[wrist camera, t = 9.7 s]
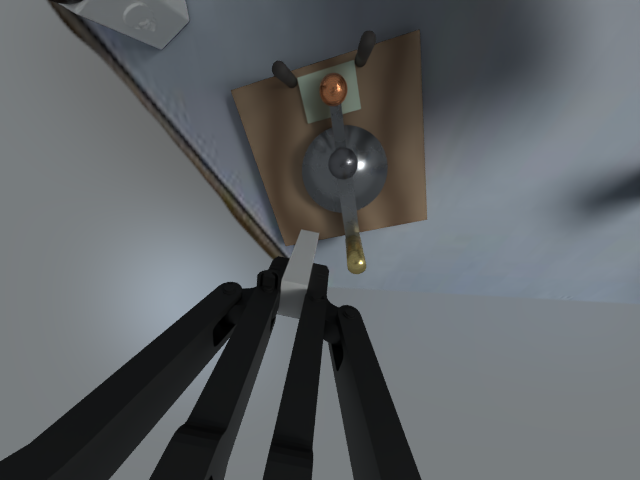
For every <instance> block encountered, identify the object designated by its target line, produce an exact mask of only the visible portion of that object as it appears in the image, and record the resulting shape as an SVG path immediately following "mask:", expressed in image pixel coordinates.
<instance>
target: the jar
mask: <svg viewBox="0 0 640 480" xmlns="http://www.w3.org/2000/svg"><path fill="white" fill-rule="evenodd" d="M50 1H53V2H56V3H58V4H60V5H62V6H63V7H65V8H67V9H68V10H70V11H72V12H73V13H75V14H77V15H79V16H82V17H84V18H87V19H89V20H91V21H94V22H96V23H98V24H101V25H103V26H106V27H108V28H110V29H113V30H115V31H117V32H120V33H122V34H124V35H127V36H129V37H132V38H134V39H136V40H139V41H141V42H143V43H146V44H148V45H151V46H153V47H155V48H158V49H160V50H161V49H163V48H164V47H165V46H166V45H167V44H168V43H169V42H170V41H171V40H172V39H173V38H174V37H175V36H176V35H177V34H178V33H179V32H180V31H181V29H182V28H183V27H184V26H185V25H186V24H187V23H188V22H189V15H188V10H187V5H186V0H50Z"/></svg>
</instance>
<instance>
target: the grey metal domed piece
mask: <svg viewBox="0 0 640 480" xmlns="http://www.w3.org/2000/svg"><path fill="white" fill-rule="evenodd" d="M347 91H348V87H347V83H346V80H345V79H344V77H343V76H342V75H340V74H338V73H330V74H327V75H326V76H325V77H324V78H323V79H322V81H321V83H320V87H319V93H320V97H321V99H322V101H323V102H324V103H325V104H326V105H328V106H329V107H330V114H331V121H332V128H330V129H327V130H325V131H324V132H322V133H321V134H320V135H318V136H317V137H316V138H315V139H314V140H313V141H312V143H311V144H310V145H309V147H308V149H307V151H306V153H305V156H304V159H303V163H302V177H303V182H304V185H305V188H306V190H307V192H308V194H309V195H310V196H311V198H312V199H313V200H314V201H315V202H316V203H317V204H319V205H320V206H321V207H323V208H325V209H327V210H330V211H333V212H339V213H342V216H343V223H344V230H345V237H346V239H345V241H346V253H347V266H348V270H349V271H350V272H351V273H353V274H360V273H362V272H364V271H365V269H366V262H365V257H364V253H363V248H362V243H361V239H360V235H359V226H358V217H357V210H360V209H362V208H364V207H365V206H367V205H368V204H370V203H371V202H372V201H373V200H374V199H375V198H376V197H377V196H378V195H379V193H380V192H381V190H382V188H383V186H384V184H385V181H386V177H387V171H388V164H387V157H386V154H385V151H384V149H383V147H382V145H381V143H380V142H379V141H378V139H377V138H376V137H375V136H374V135H373V134H371V133H370V132H369V131H367V130H365V129H363V128H360V127H357V126H352V125H344V123H343V114H342V106H341V103H342V102H343V101H344V100H345V98H346V96H347Z"/></svg>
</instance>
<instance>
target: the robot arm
mask: <svg viewBox="0 0 640 480" xmlns="http://www.w3.org/2000/svg"><path fill="white" fill-rule="evenodd" d="M318 237H319V233H316V232H312V231H307V230H302V229H301V231H300V234H299V237H298V239H297V242H296V244H295V247H294V250H293V252H292V255H291V257H290V259H289V258H284V257H279V256H278V257H276V258H275V259H274V260H273V261H272V263H271V265H270V267H269V269H268V270H265V271H262V272H260V273H259V274H258V275H257V287H254V288H246V289H242V287H241V286H240V285H239V284H238V283H235V282H227V283H223V284H221V285H220V286H218V287H217V288H216V289H215V290H214V291H212V292H211V293H210V294H209V295H207V296H206V297H205V298H204V299H203V300H201V301H200V302H199V303H198V304H197V305H196V306H194V307H193V308H192V309H191V310H190V311H188V312H187V313H186V314H185V315H184V316H182V317H181V318H180V319H179V320H178V321H176V322H175V323H174V324H173V325H172V326H170V327H169V328H168V329H167V330H166V331H164V332H163V333H162V334H161V335H160V336H158V337H157V338H156V339H155V340H153V341H152V342H151V343H150V344H149V345H147V346H146V347H145V348H144V349H143V350H141V352H139V353H138V354H137V355H135V356H134V357H133V358H132V359H131V360H129V361H128V362H127V363H126V364H125V365H123V366H122V367H121V368H120V369H119V370H117V371H116V372H115V373H114V374H113V375H111V376H110V377H109V378H108V379H107V380H105V381H104V382H103V383H102V384H101V385H99V386H98V387H97V388H96V389H95V390H93V391H92V392H91V393H90V394H89V395H87V396H86V397H85V398H84V399H82V400H81V401H80V402H79V403H78V404H76V405H75V406H74V407H73V408H72V409H70V410H69V411H68V412H67V413H66V414H64V415H63V416H62V417H61V418H60V419H58V420H57V421H56V422H55V423H54V424H53V425H51V426H50V427H49V428H48V429H46V430H45V431H44V432H43V433H42V434H40V435H39V436H38V437H37V438H36V439H34V440H33V441H32V442H31V443H30V444H28V445H27V446H25V447H23V448H22V449H20V450H18V451H17V452H15V453H13V454H12V455H10V456H8V457H7V458H5V459H3V460H2V461H0V480H109V479H110V477H111V476H112V475H113V474H114V473H115V472H116V471H117V469H118V468H119V467H120V466H121V464H123V462H124V461H125V460H126V459H127V458H128V456H129V455H130V454H131V453H132V451H134V449H135V448H136V447H137V446H138V445H139V444H140V442H141V441H142V440H143V439H144V438H145V436H146V435H147V434H148V433H149V432H150V431H151V429H152V428H153V427H154V426H155V425H156V424H157V422H158V421H159V420H160V419H161V418H162V417H163V415H164V414H165V413H166V412H167V411H168V409H169V408H170V407H171V406H172V405H173V404H174V402H175V401H176V400H177V399H178V398H179V396H180V395H181V394H182V393H183V392H184V391H185V389H186V388H187V387H188V386H189V385H190V384H191V382H192V381H193V380H194V379H195V378H196V376H197V375H198V374H199V373H200V372H201V371H202V369H203V368H204V367H205V366H206V365H207V364H208V362H209V361H210V360H211V359H212V358H213V356H214V355H215V354H216V353H217V352H218V351H219V350H220V348H221V347H222V346H223V345H224V344H225V342H226V341H227V340H228V339H229V338H230V339H229V341H228V343H227V345H226V347H225V349H224V350H223V352H222V354H221V356H220V358H219V360H218V362H217V364H216V366H215V368H214V370H213V372H212V374H211V376H210V378H209V379H208V381H207V383H206V385H205V387H204V389H203V391H202V393H201V395H200V397H199V399H198V401H197V403H196V405H195V407H194V408H193V410H192V412H191V414H190V416H189V418H188V420H187V421H186V422H185V424H183V425H182V426H180V427H179V428H178V430H177V431H176V432H175V433H174V435H173V437H172V438H171V440H170V442H169V444H168V446H167V447H166V449H165V451H164V453H163V455H162V457H161V459H160V460H159V462H158V464H157V466H156V468H155V470H154V472H153V473H152V475H151V477H150V479H149V480H224V477H225V473H226V467H227V464H228V460H229V457H230V454H231V451H232V448H233V445H234V442H235V439H236V436H237V433H238V431H239V427H240V425H241V422H242V419H243V416H244V412H245V410H246V407H247V404H248V401H249V398H250V395H251V392H252V389H253V386H254V383H255V380H256V377H257V374H258V371H259V368H260V365H261V362H262V359H263V356H264V353H265V350H266V347H267V344H268V341H269V338H270V335H271V333H272V330H273V326H274V324H275V319H276V314H279V315H283V316H288V317H293V318H298V319H299V324H298V328H297V333H296V337H295V342H294V346H293V350H292V355H291V359H290V364H289V368H288V372H287V377H286V381H285V385H284V390H283V394H282V399H281V403H280V407H279V412H278V416H277V421H276V425H275V430H274V434H273V438H272V442H271V446H270V450H269V454H268V458H267V463H266V467H265V472H264V476H263V480H312V468H313V450H312V446H313V436H314V426H315V415H316V405H317V396H318V385H319V375H320V365H321V356H322V344H323V339H324V340H325V341H327V342H328V345H329V350H330V355H331V360H332V366H333V371H334V377H335V382H336V387H337V392H338V398H339V403H340V408H341V414H342V418H343V424H344V430H345V435H346V440H347V446H348V451H349V456H350V462H351V467H352V472H353V477H354V480H421V477H420V475H419V472H418V469H417V466H416V464H415V461H414V458H413V456H412V453H411V450H410V447H409V445H408V442H407V439H406V437H405V434H404V431H403V429H402V426H401V423H400V420H399V418H398V415H397V412H396V409H395V407H394V404H393V401H392V399H391V396H390V393H389V390H388V388H387V385H386V382H385V380H384V377H383V374H382V371H381V369H380V366H379V363H378V361H377V358H376V355H375V352H374V350H373V347H372V344H371V342H370V339H369V336H368V333H367V331H366V328H365V325H364V323H363V320H362V317H361V315H360V313H359V311H358V310H357V309H356V308H354V307H352V306H349V305H343V306H341V307H337V306H335V305H333V304H331V303H330V302H329V301H328V299H327V285H328V275H329V270H328V268H327V266H325V265H320V264H315V263H313V262H314V257H315V252H316V247H317V242H318ZM277 311H278V313H277Z"/></svg>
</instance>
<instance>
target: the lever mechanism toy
mask: <svg viewBox="0 0 640 480" xmlns="http://www.w3.org/2000/svg"><path fill="white" fill-rule="evenodd" d="M375 43H376V36H375V34H374V32H372V31H366V32H364V33H363V35H362V36H361V40H360V43H359V47H358V50H354V51H351V52H348V53H345V54H342V55H339V56H336V57H333V58H330V59H327V60H323V61H320V62H317V63H314V64H311V65H308V66H305V67H302V68H299V69H296V70H292V71H290V70H289V69H288V67H287V66H286V65H285V64H284V63H283V62H282V61H276V62H274V64H273V66H272V72H273V74H274V77H271V78H268V79H264V80H261V81H258V82H255V83H252V84H249V85H246V86H243V87H240V88H237V89H233V90H231V92H232V95H233V98H234V101H235V104H236V106H237V109H238V112H239V115H240V118H241V121H242V123H243V126H244V129H245V132H246V135H247V138H248V141H249V143H250V146H251V149H252V152H253V155H254V158H255V160H256V163H257V166H258V169H259V172H260V175H261V177H262V180H263V183H264V186H265V189H266V192H267V194H268V197H269V200H270V203H271V206H272V209H273V212H274V214H275V217H276V220H277V223H278V226H279V229H280V231H281V234H282V237H283V240H284V243H285V246H290V245H295V244H296V242H297V239H298V237H299V234H300V231H301V229H302V230H307V231H312V232H316V233H319V237H318V240H322V239H327V238H332V237H337V236H343V235H345V230H344V223H343V216H342V213H339V212H333V211H330V210H327V209H325V208H323V207H321V206H320V205H319V204H317V203H316V202H315V201H314V200H313V199H312V198H311V196H310V195H309V194H308V192H307V190H306V188H305V185H304V182H303V177H302V163H303V159H304V156H305V153H306V151H307V149H308V147H309V145H310V144H311V143H312V141H313V140H314V139H315V138H316V137H317V136H318V135H320V134H321V133H322V132H324V131H325V130H327V129H330V128H332V121H331V114H330V107H329V106H328V105H326V104H325V103H324V102H323V101H322V99H321V97H320V93H319V87H320V83H321V81H322V79H323V78H324V77H325V76H326V75H327V74H330V73H338V74H340V75H342V76H343V77H344V79H345V80H346V83H347V87H348V91H347V96H346V98H345V100H344V101H343V102H342V103H341V106H342V114H343V123H344V125H352V126H357V127H360V128H363V129H365V130H367V131H369V132H370V133H371V134H373V135H374V136H375V137H376V138H377V139H378V141H379V142H380V143H381V145H382V147H383V149H384V151H385V154H386V157H387V164H388V171H387V177H386V181H385V184H384V186H383V188H382V190H381V192H380V193H379V195H378V196H377V197H376V198H375V199H374V200H373V201H372V202H371V203H370V204H368V205H367V206H365V207H364V208H362V209H360V210H357V217H358V226H359V232H364V231H369V230H374V229H379V228H385V227H390V226H395V225H401V224H406V223H411V222H416V221H422V220H427V205H426V179H425V153H424V127H423V101H422V75H421V48H420V30H417V31H413V32H410V33H407V34H404V35H401V36H398V37H395V38H392V39H389V40H385V41H382V42H379V43H376V44H375Z"/></svg>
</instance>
